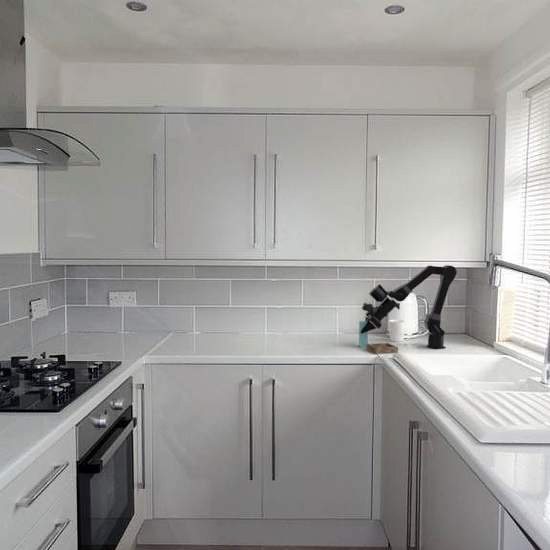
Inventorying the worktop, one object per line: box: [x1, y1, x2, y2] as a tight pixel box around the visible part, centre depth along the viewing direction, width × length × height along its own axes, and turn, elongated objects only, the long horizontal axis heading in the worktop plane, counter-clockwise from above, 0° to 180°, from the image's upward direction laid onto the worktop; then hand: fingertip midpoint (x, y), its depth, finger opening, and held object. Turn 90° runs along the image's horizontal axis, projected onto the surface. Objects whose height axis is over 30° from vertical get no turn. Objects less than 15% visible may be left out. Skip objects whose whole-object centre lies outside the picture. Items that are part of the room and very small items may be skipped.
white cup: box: [388, 319, 406, 343], centre depth 262 cm, size 8×8×10 cm
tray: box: [365, 342, 399, 355], centre depth 237 cm, size 11×10×2 cm
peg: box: [358, 320, 369, 349], centre depth 247 cm, size 4×4×12 cm
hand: (360, 332), depth 247 cm, fingers open, 4 cm apart
